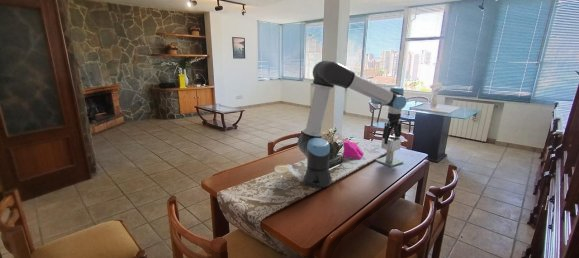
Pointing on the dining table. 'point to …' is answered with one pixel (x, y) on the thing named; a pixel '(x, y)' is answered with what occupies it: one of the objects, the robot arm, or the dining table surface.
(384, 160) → the keeper
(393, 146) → the white hollow square block
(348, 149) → the magenta faceted rock
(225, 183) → the dining table surface
